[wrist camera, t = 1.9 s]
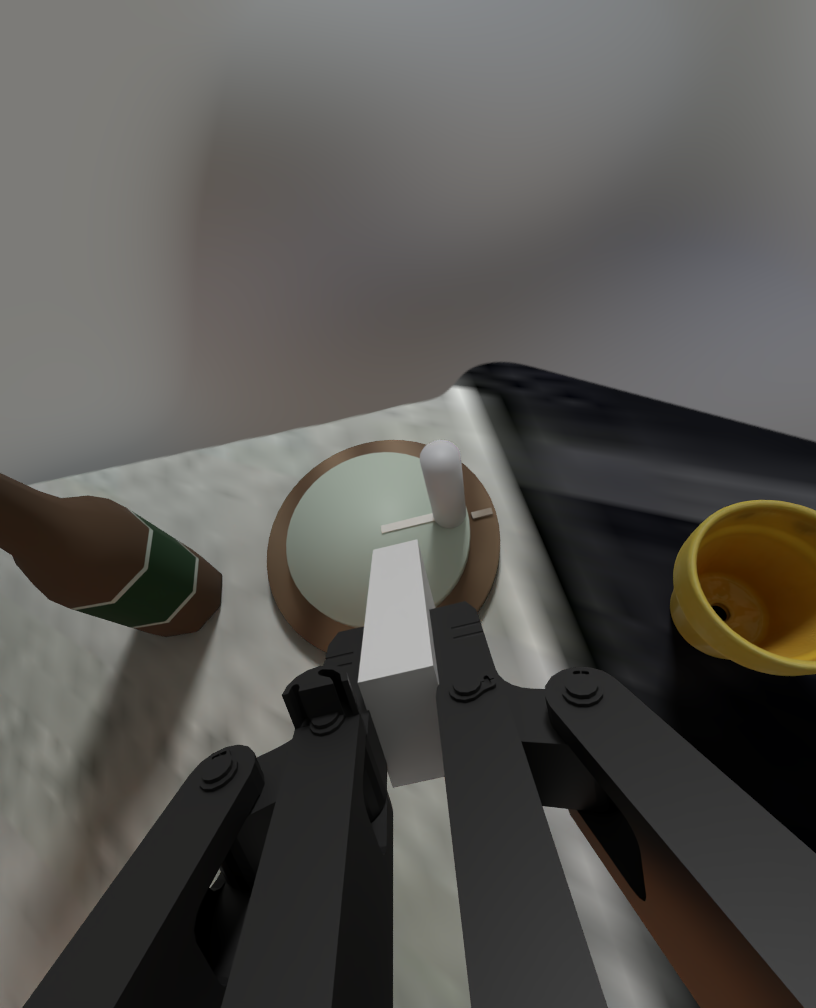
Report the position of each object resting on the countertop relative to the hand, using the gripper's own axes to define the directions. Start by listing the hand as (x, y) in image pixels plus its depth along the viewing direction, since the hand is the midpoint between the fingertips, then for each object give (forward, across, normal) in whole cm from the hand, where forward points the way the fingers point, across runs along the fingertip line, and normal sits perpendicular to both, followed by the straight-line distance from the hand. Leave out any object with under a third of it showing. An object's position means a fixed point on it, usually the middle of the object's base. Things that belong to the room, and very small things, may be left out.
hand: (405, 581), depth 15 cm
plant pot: (+17, +20, -17) cm, 32 cm away
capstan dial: (+25, -4, -8) cm, 26 cm away
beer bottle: (+25, -22, -9) cm, 35 cm away
